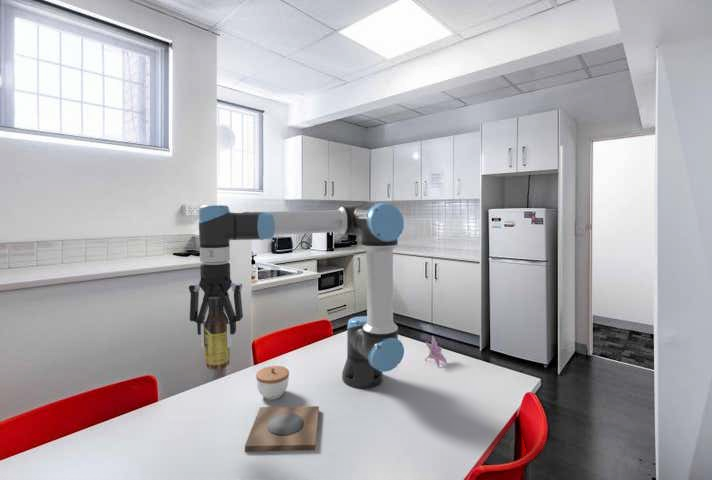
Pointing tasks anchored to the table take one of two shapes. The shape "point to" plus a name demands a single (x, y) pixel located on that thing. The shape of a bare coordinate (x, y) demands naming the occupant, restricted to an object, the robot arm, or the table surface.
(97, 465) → the table surface
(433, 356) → the lily
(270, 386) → the lidded jar
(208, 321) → the sauce bottle
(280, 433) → the walnut board
